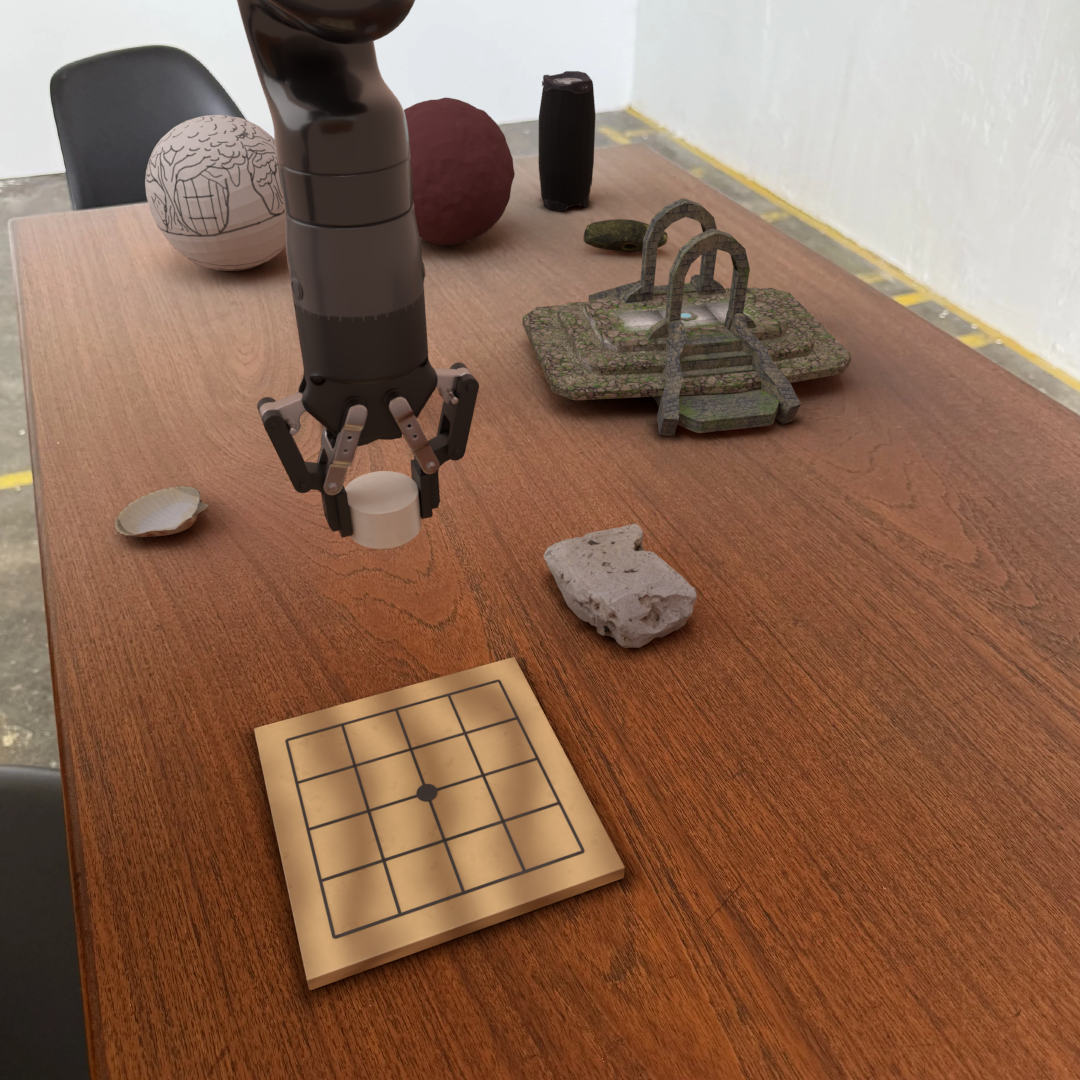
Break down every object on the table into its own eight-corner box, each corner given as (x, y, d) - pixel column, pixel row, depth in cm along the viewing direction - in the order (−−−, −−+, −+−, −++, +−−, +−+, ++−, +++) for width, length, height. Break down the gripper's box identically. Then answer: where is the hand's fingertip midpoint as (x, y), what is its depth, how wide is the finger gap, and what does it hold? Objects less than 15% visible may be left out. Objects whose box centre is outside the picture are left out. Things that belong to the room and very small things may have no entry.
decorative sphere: (527, 224, 153) (527, 88, 140) (494, 272, 137) (491, 124, 125) (408, 213, 156) (398, 79, 144) (363, 259, 141) (347, 114, 129)
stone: (613, 536, 89) (525, 582, 84) (618, 489, 85) (526, 535, 80) (714, 625, 81) (624, 681, 77) (726, 578, 77) (631, 634, 73)
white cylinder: (358, 556, 64) (353, 520, 62) (340, 515, 67) (335, 479, 66) (430, 539, 65) (428, 503, 63) (409, 499, 69) (406, 464, 67)
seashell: (172, 510, 95) (98, 534, 89) (167, 480, 94) (93, 502, 88) (228, 525, 91) (154, 552, 85) (224, 495, 90) (149, 519, 83)
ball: (337, 262, 140) (318, 116, 128) (218, 306, 128) (185, 149, 116) (255, 229, 150) (230, 91, 138) (138, 266, 138) (100, 119, 126)
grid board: (309, 991, 55) (306, 980, 55) (256, 739, 70) (253, 727, 69) (624, 878, 61) (625, 866, 61) (514, 667, 76) (514, 655, 75)
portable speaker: (530, 209, 158) (529, 80, 146) (553, 192, 165) (554, 67, 153) (578, 216, 155) (582, 85, 143) (599, 199, 162) (605, 72, 150)
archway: (570, 456, 100) (575, 290, 89) (510, 317, 126) (509, 175, 115) (881, 421, 106) (922, 262, 95) (763, 295, 132) (784, 159, 121)
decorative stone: (644, 239, 148) (646, 206, 145) (670, 256, 142) (673, 223, 139) (580, 250, 144) (581, 217, 141) (604, 268, 139) (606, 234, 136)
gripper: (455, 245, 61) (465, 471, 71) (221, 277, 56) (268, 514, 66) (497, 290, 55) (501, 528, 65) (241, 330, 51) (289, 579, 61)
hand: (383, 520), depth 66 cm, fingers closed on white cylinder, 5 cm apart
